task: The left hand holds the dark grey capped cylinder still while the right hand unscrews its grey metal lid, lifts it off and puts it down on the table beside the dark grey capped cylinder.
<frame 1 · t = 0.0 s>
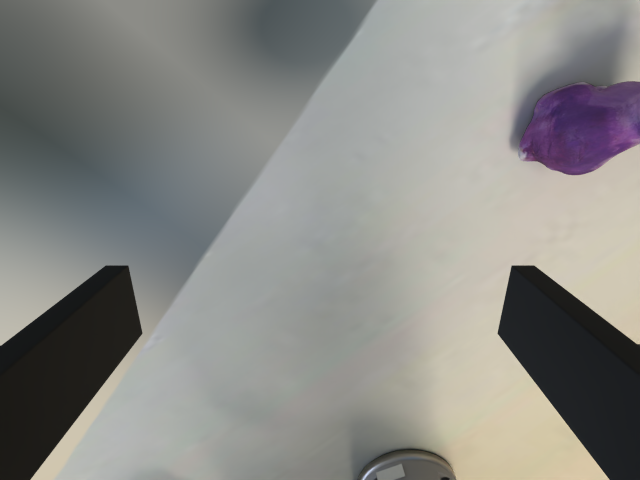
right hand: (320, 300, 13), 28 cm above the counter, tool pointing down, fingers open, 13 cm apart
figurine: (566, 119, 37), on the counter
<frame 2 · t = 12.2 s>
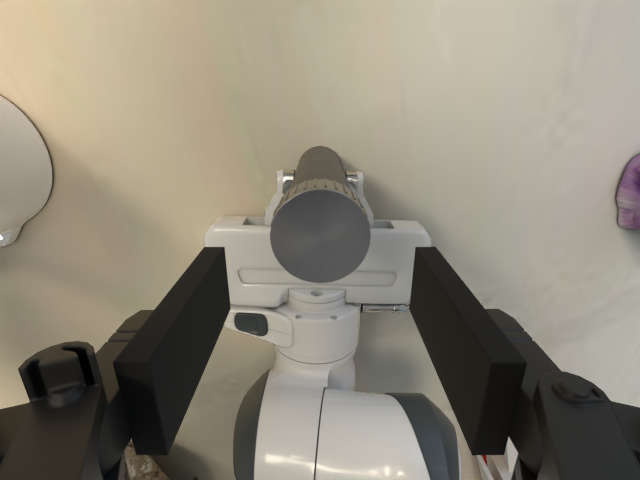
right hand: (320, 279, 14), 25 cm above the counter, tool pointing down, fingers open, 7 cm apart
left hand: (319, 171, 31), fingers closed on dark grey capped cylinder, 4 cm apart
toy: (509, 465, 53), on the counter
lid: (320, 236, 19), point 20 cm above the counter, screwed on, not yet turned
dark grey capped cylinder: (320, 168, 38), on the counter, touching left hand
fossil: (171, 475, 54), on the counter
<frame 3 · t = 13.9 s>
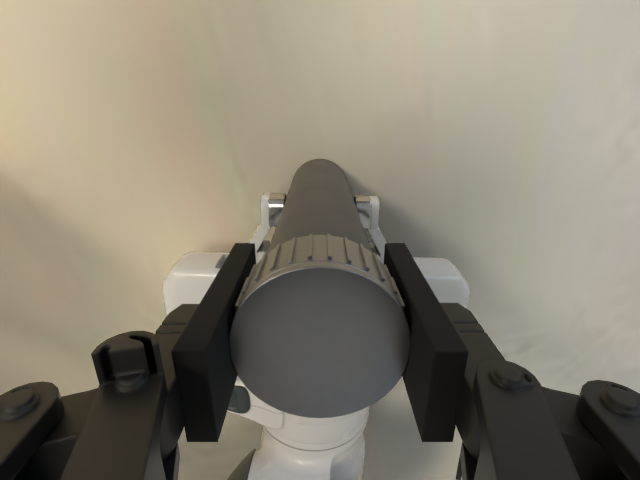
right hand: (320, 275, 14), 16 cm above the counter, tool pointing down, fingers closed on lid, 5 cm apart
lid: (319, 341, 10), point 20 cm above the counter, screwed on, not yet turned, touching right hand
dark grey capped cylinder: (319, 187, 29), on the counter, touching left hand
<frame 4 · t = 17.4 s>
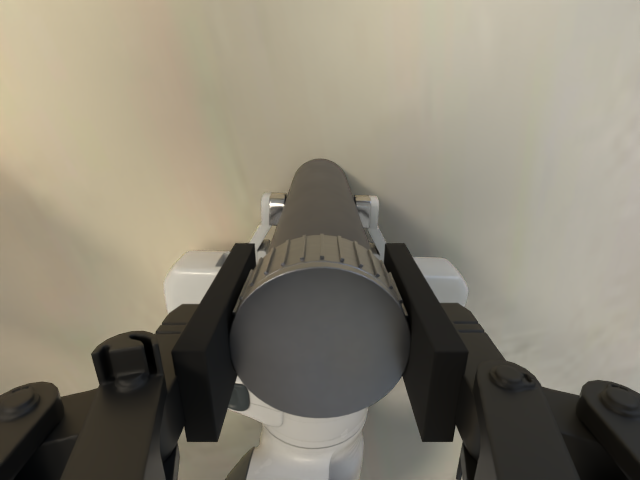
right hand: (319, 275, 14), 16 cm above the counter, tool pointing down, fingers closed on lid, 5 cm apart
lid: (320, 342, 10), point 20 cm above the counter, turned 125° so far, risen 0.2 cm, still on its thread, touching right hand
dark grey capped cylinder: (319, 186, 30), on the counter, touching left hand
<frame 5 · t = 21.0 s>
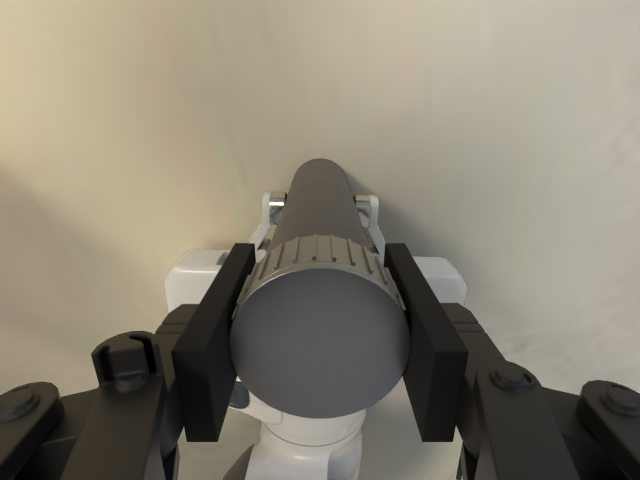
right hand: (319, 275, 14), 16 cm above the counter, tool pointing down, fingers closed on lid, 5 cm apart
lid: (319, 342, 10), point 21 cm above the counter, turned 250° so far, risen 0.4 cm, still on its thread, touching right hand
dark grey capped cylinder: (319, 186, 30), on the counter, touching left hand
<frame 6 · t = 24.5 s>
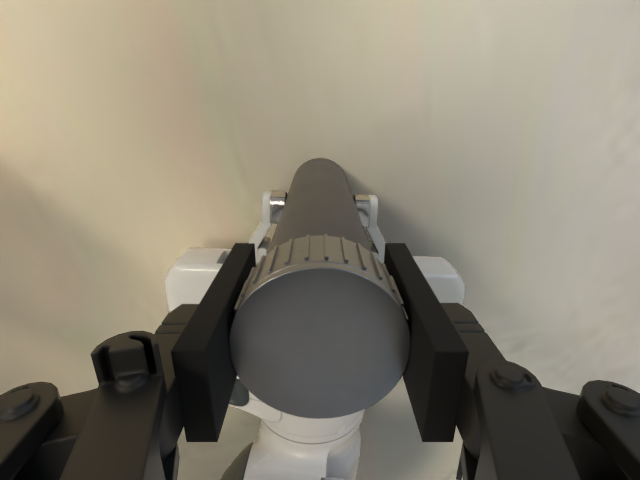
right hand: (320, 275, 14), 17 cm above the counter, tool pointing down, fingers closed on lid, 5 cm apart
lid: (319, 342, 10), point 21 cm above the counter, turned 375° so far, risen 0.6 cm, still on its thread, touching right hand
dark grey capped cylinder: (319, 185, 30), on the counter, touching left hand
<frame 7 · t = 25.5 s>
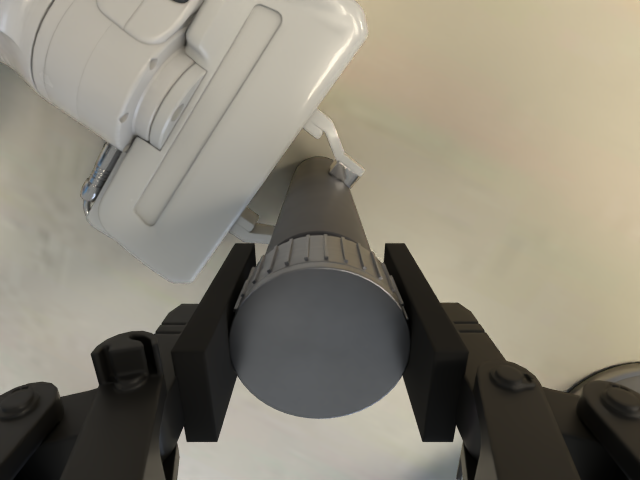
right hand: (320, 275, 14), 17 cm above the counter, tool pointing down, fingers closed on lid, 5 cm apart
left hand: (330, 212, 24), fingers closed on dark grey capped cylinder, 4 cm apart
lid: (319, 342, 10), point 21 cm above the counter, off its thread, touching right hand
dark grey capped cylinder: (319, 183, 30), on the counter, touching left hand
when the right hand's fingers open (0 cm above the counter, at t = 32.2 s): lid drops 2 cm, point 2 cm above the counter.
when the left hand's fingers open (7 cm above the counter, at t = 32.9 s): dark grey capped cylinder stays where it is, on the counter.
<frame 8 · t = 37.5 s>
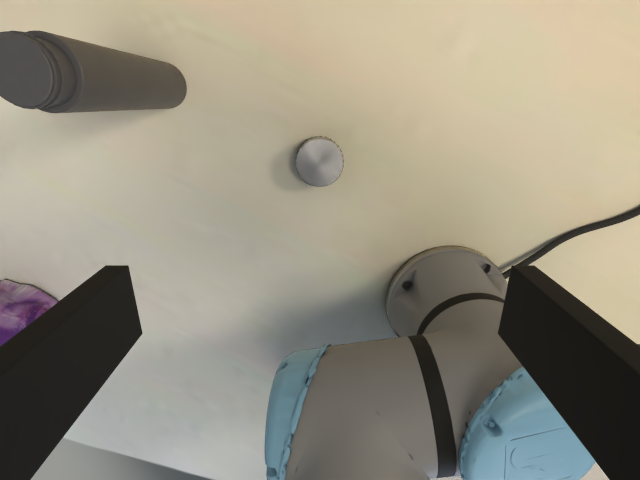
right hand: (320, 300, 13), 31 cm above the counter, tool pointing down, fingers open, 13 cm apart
figurine: (27, 307, 48), on the counter
lid: (319, 162, 39), point 2 cm above the counter, off its thread
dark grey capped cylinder: (165, 85, 38), on the counter
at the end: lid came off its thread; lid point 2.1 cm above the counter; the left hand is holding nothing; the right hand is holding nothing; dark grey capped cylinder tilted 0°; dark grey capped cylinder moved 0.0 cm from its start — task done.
